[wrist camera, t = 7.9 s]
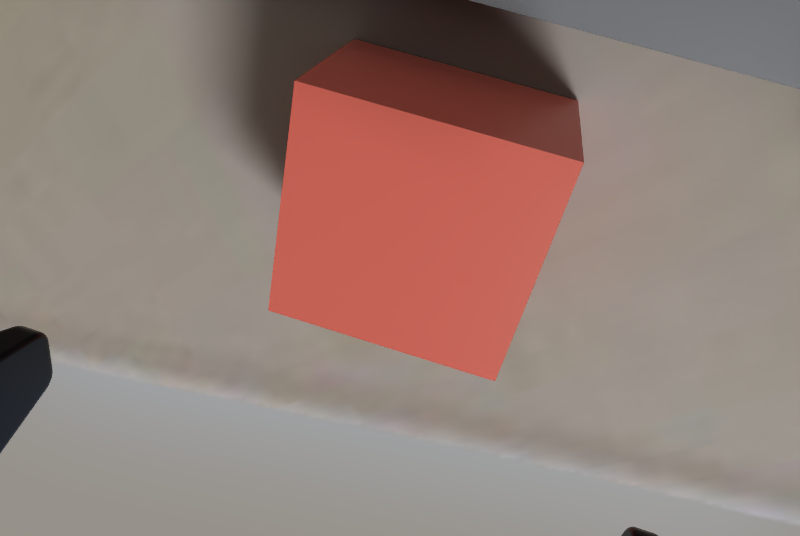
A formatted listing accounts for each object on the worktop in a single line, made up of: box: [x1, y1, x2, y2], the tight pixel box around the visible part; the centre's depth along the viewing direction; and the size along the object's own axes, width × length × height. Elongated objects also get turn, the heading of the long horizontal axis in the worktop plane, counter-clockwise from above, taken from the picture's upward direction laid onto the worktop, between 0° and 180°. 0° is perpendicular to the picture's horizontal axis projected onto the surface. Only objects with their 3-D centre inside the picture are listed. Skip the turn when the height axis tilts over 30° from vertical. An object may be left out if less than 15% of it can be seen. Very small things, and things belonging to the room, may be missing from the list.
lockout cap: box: [268, 39, 584, 381], centre depth 16 cm, size 6×6×4 cm
